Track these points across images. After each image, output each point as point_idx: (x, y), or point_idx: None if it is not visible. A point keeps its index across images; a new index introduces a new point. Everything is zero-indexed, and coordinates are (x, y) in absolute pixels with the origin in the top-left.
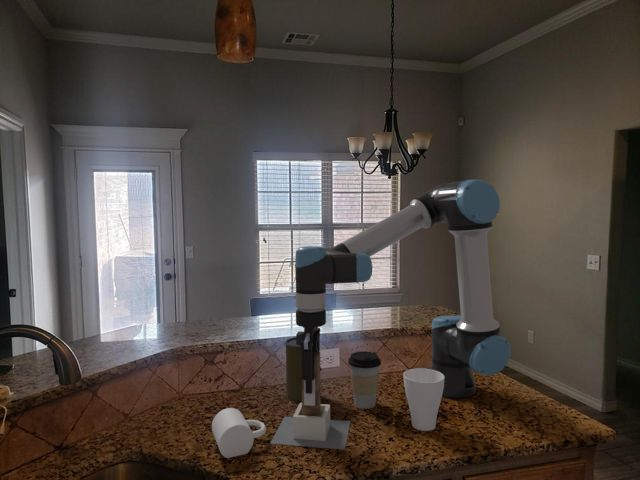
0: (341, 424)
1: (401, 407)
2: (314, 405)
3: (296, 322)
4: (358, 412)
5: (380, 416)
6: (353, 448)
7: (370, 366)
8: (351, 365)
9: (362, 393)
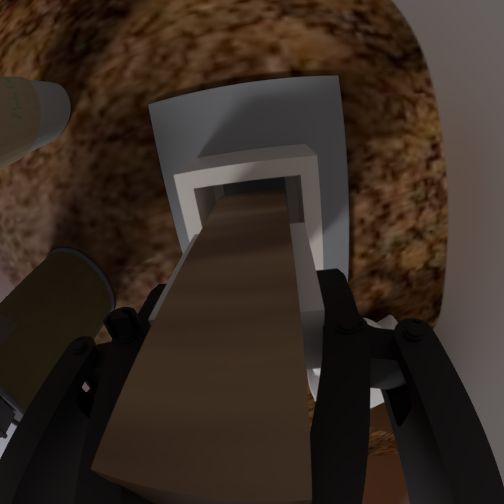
0: (179, 124)
1: (34, 30)
2: (304, 224)
3: None
4: (79, 113)
5: (84, 46)
6: (302, 54)
7: None
8: None
9: (35, 107)
